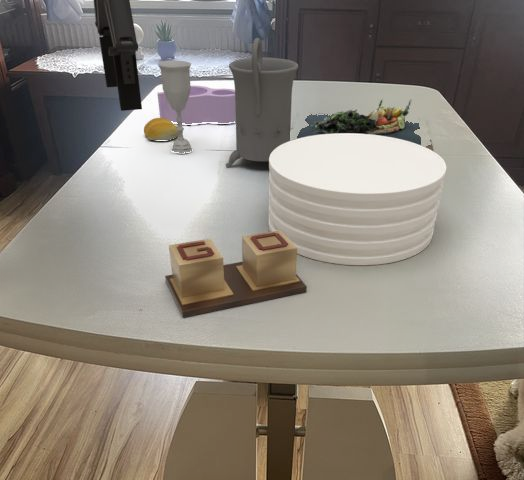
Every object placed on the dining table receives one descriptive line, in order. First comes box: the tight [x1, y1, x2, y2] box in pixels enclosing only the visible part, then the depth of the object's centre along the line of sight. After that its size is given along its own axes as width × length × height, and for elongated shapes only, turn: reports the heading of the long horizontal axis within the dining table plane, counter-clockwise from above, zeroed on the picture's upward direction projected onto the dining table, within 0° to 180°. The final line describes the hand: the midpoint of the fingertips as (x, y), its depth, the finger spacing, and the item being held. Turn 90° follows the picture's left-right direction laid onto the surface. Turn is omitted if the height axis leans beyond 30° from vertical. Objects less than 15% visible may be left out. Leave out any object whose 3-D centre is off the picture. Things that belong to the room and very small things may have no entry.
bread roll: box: [143, 117, 179, 141], centre depth 133 cm, size 8×9×4 cm
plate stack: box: [268, 133, 447, 266], centre depth 91 cm, size 28×28×12 cm
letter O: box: [241, 230, 298, 287], centre depth 78 cm, size 6×6×5 cm
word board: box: [164, 261, 308, 319], centre depth 78 cm, size 18×10×1 cm, turn 111°
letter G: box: [168, 238, 224, 298], centre depth 76 cm, size 6×6×5 cm
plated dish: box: [297, 98, 435, 152], centre depth 136 cm, size 35×28×7 cm
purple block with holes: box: [157, 84, 236, 124], centre depth 144 cm, size 20×12×7 cm, turn 81°
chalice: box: [157, 60, 193, 153], centre depth 120 cm, size 7×7×18 cm
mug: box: [225, 37, 299, 168], centre depth 111 cm, size 19×15×25 cm
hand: (123, 97), depth 77 cm, fingers open, 13 cm apart
